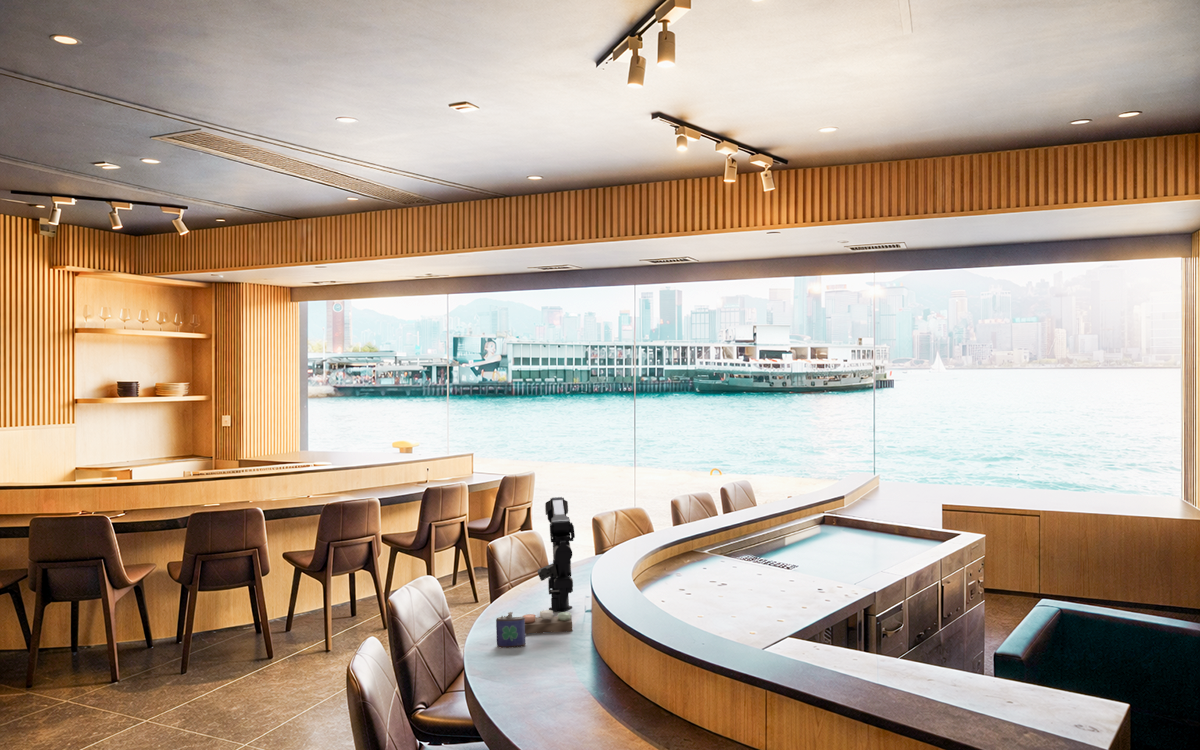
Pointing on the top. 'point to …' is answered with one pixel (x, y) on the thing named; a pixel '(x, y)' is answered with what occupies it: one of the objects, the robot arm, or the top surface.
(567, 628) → the console
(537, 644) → the top surface
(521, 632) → the flask
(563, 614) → the button sage
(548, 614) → the button cream
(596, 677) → the top surface
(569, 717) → the top surface
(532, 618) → the button terracotta
